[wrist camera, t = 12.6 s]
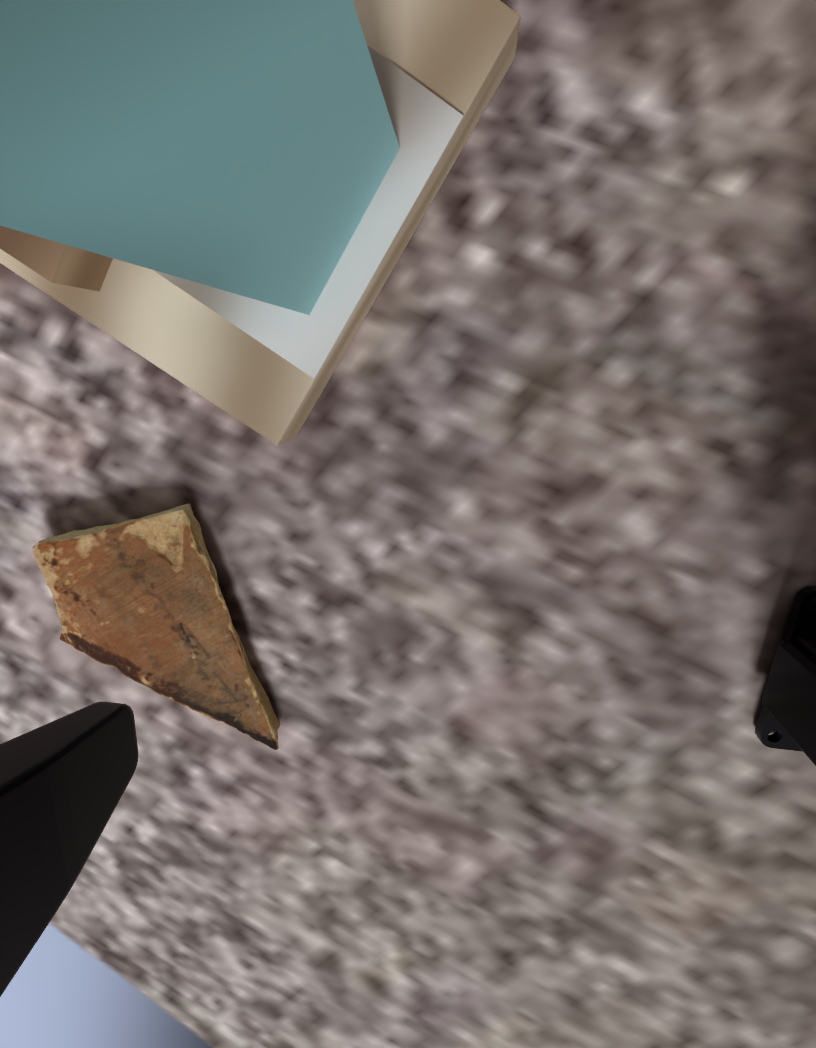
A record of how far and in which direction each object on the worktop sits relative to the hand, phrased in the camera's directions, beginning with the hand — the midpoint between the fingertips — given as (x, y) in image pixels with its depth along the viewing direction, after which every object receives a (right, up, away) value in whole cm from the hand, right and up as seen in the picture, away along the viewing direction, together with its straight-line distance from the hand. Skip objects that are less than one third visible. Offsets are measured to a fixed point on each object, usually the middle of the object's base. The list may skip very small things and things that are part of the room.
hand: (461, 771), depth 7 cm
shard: (-10, 0, +15) cm, 18 cm away
